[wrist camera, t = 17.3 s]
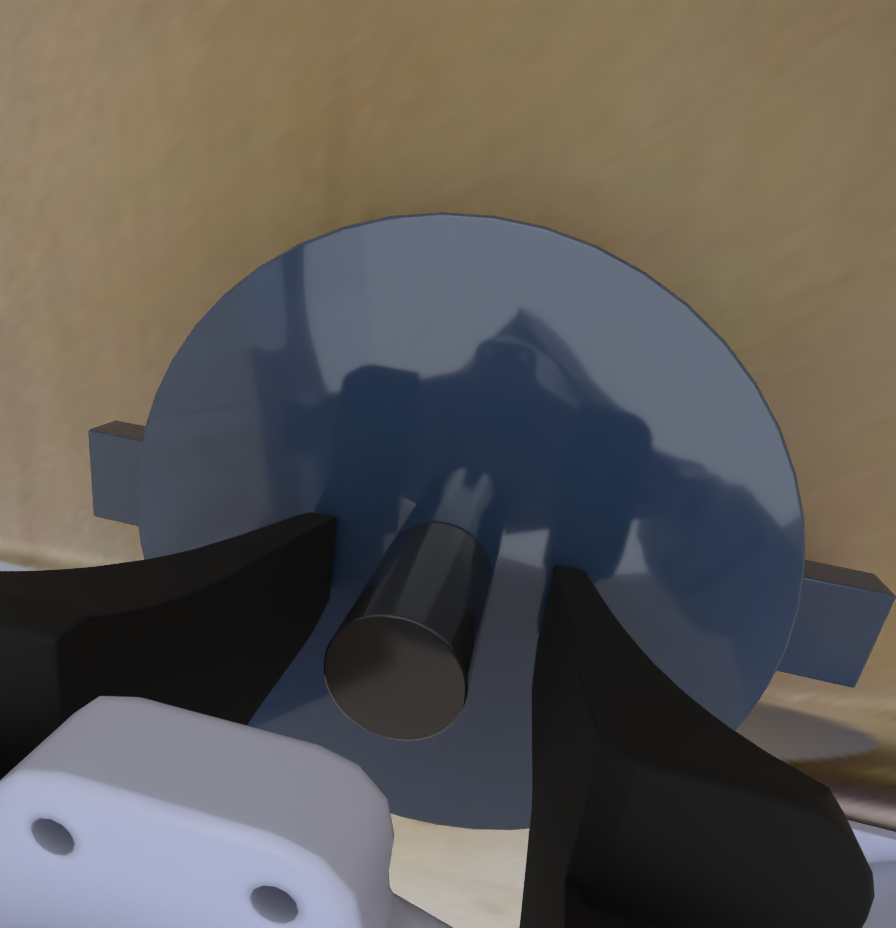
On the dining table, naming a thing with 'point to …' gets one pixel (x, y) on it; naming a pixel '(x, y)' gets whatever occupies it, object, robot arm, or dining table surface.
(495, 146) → the dining table surface
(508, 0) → the dining table surface
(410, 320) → the lid
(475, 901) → the dining table surface
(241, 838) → the robot arm
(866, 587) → the pot
